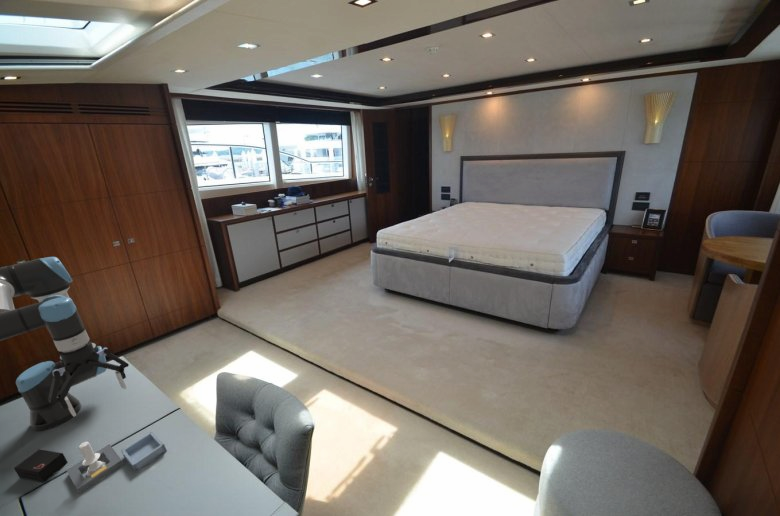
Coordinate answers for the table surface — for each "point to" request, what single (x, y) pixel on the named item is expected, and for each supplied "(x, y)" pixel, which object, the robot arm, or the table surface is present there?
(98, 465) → the white cylindrical piece
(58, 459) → the electronic device
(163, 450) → the tray
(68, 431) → the table surface
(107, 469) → the socket panel
